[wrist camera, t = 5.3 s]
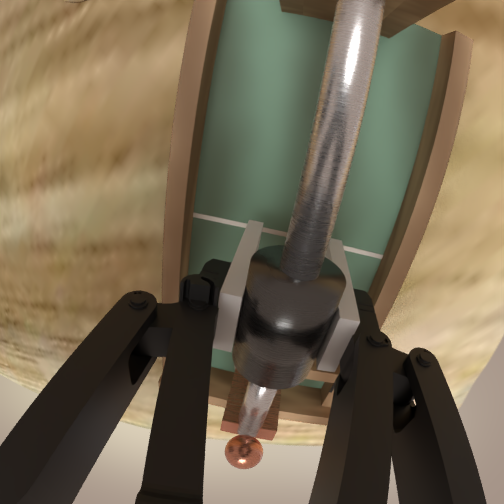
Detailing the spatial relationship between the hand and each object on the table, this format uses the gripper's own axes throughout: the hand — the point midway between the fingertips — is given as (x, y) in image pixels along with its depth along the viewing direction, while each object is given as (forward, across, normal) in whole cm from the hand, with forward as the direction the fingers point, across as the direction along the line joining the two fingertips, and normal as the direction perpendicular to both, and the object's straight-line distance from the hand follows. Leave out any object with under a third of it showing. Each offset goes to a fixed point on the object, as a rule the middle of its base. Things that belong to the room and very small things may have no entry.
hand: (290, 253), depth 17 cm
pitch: (+5, 0, 0) cm, 5 cm away
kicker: (+3, 0, +4) cm, 5 cm away
